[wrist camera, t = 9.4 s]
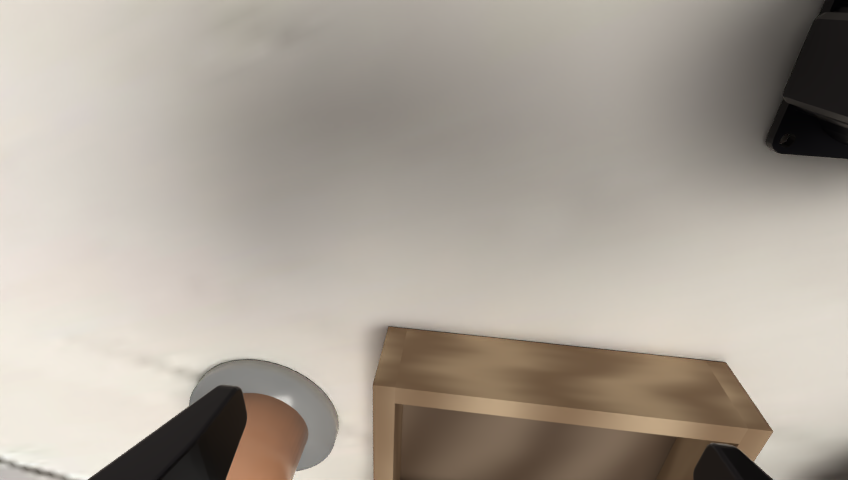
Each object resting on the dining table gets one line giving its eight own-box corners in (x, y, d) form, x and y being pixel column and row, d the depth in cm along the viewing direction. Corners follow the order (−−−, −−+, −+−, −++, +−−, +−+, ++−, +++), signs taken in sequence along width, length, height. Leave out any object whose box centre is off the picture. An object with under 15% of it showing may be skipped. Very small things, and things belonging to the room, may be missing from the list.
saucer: (335, 369, 25) (331, 379, 24) (341, 468, 29) (338, 480, 29) (182, 351, 26) (174, 361, 25) (211, 451, 30) (204, 462, 29)
